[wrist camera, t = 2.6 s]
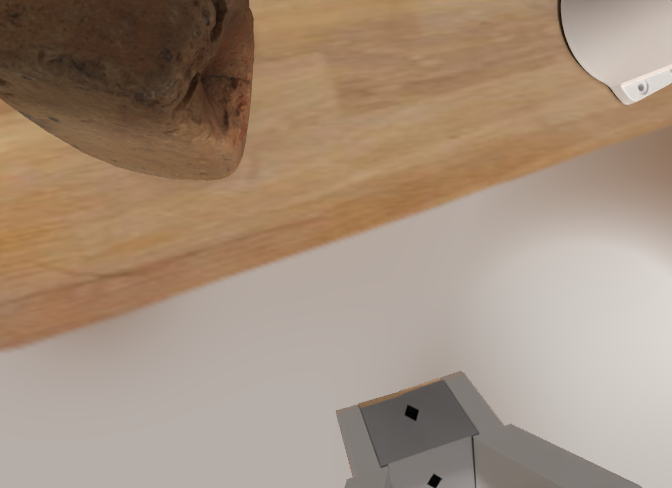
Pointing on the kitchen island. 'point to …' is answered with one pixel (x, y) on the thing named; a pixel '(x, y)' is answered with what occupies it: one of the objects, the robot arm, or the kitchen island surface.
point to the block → (134, 79)
